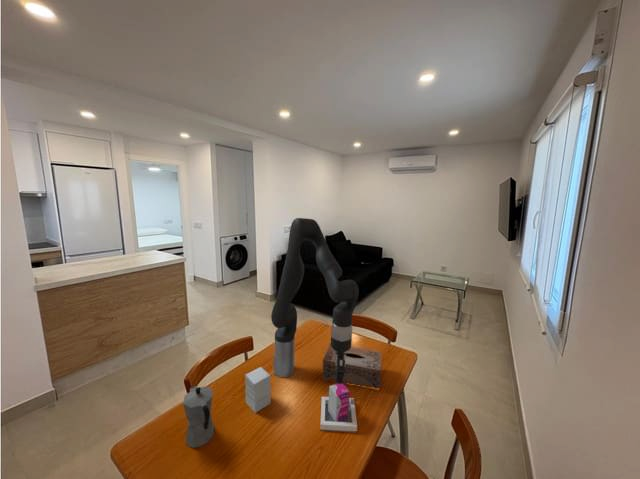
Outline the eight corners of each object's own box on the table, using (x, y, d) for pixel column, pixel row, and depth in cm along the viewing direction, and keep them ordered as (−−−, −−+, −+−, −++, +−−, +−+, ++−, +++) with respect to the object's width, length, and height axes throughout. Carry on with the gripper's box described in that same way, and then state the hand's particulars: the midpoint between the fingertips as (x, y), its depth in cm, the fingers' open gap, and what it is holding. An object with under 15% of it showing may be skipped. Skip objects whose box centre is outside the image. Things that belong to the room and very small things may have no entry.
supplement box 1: (261, 393, 106) (261, 366, 104) (271, 403, 101) (271, 375, 99) (245, 402, 101) (244, 374, 99) (254, 414, 96) (254, 384, 94)
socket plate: (320, 430, 90) (320, 423, 89) (321, 401, 102) (321, 395, 102) (356, 432, 89) (357, 425, 89) (353, 403, 102) (353, 397, 101)
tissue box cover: (322, 379, 116) (323, 359, 114) (329, 361, 129) (329, 343, 128) (379, 391, 109) (381, 370, 108) (380, 370, 123) (381, 351, 122)
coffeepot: (179, 430, 88) (176, 384, 85) (207, 415, 94) (205, 372, 92) (193, 464, 77) (191, 412, 74) (224, 444, 83) (222, 396, 81)
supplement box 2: (335, 424, 92) (336, 396, 90) (327, 412, 97) (328, 385, 95) (348, 418, 94) (349, 391, 93) (340, 407, 99) (341, 380, 98)
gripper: (331, 324, 98) (329, 362, 100) (331, 344, 84) (328, 388, 86) (350, 325, 97) (348, 363, 100) (353, 346, 83) (350, 389, 86)
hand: (339, 374), depth 93 cm, fingers open, 8 cm apart
